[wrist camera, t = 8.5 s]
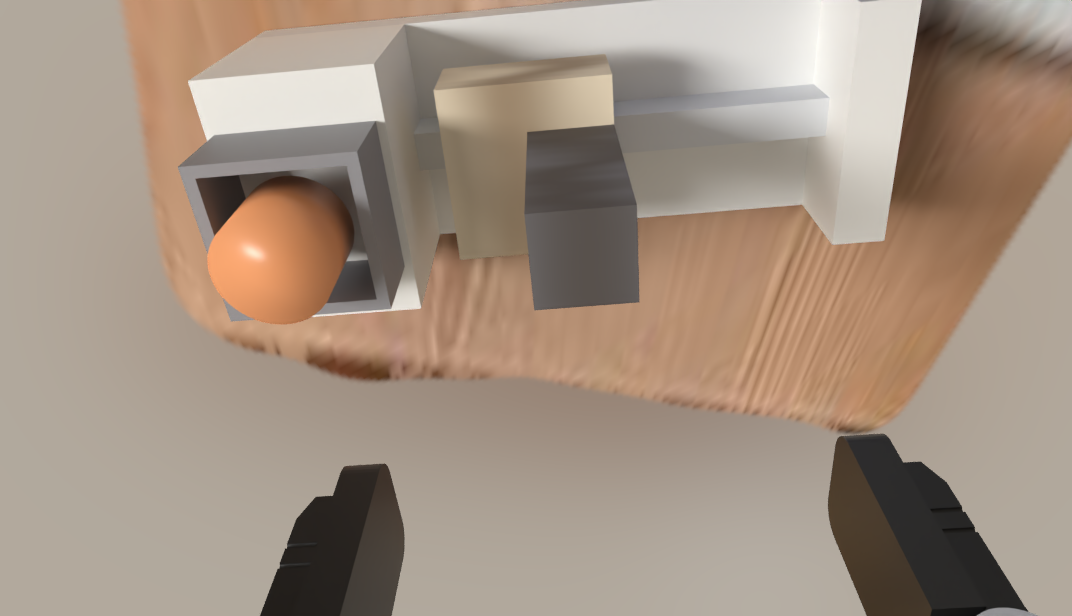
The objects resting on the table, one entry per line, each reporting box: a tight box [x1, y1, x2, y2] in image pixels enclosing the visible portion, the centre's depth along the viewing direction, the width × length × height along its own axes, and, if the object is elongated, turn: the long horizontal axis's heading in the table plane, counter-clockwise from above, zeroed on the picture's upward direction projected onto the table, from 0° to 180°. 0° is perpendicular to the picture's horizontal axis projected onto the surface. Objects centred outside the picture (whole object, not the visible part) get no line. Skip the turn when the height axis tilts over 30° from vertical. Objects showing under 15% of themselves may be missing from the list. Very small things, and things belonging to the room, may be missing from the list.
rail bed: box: [178, 0, 922, 321], centre depth 28 cm, size 24×10×11 cm, turn 95°
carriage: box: [434, 54, 639, 310], centre depth 26 cm, size 6×6×12 cm
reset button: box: [208, 176, 354, 324], centre depth 24 cm, size 4×4×3 cm
